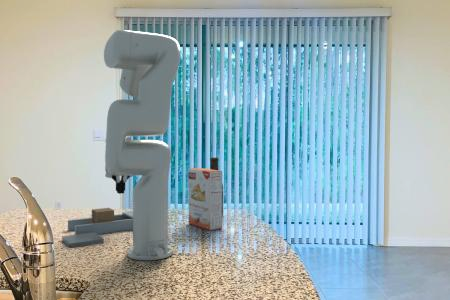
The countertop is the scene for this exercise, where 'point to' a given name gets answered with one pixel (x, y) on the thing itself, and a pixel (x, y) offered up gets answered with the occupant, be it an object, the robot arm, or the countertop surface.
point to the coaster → (82, 239)
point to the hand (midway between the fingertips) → (120, 192)
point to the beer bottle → (215, 167)
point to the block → (102, 215)
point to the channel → (102, 224)
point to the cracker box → (205, 198)
